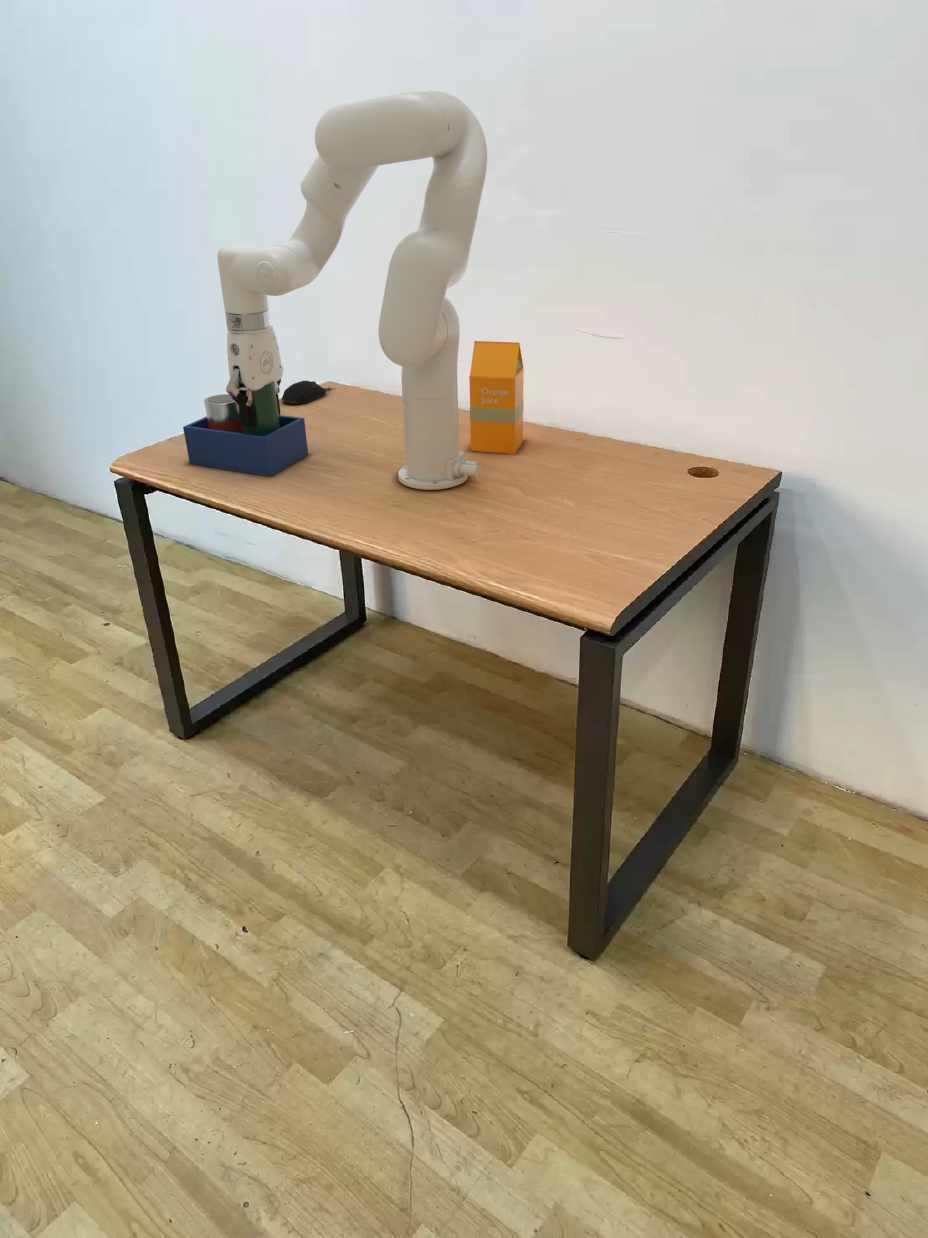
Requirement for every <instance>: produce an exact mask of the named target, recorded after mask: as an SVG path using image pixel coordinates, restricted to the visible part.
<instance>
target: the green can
mask: <svg viewBox="0 0 928 1238" xmlns="http://www.w3.org/2000/svg"><path fill="white" fill-rule="evenodd" d="M241 387H245V385H244V384H243V385H242V386H241ZM242 392H243V395H244V396H245V397H246V394H247V391H242ZM252 405H254V406H255V413H256V420H257V426H256V427H248V426H244V432H245V434H249V435H257V436H266V435H268V434H270V433H272V432H274V431H276V430H278V429H280V422H279V413H278V405H277V397H276V389H275V381H274V382H271V383H269V384H267V385H264V387H262V388H261V389H259V390H256V391H253V398H252Z"/></svg>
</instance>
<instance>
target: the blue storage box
mask: <svg viewBox="0 0 928 1238" xmlns="http://www.w3.org/2000/svg"><path fill="white" fill-rule="evenodd" d="M279 422H280V429H278V430H276V431H274V432H272V433H270V434H268V435H266V436H257V435H249V434H242V433H235V432H228V431H220V430H213V429H209V427H208V421H207V415H206V416H204V417H202V418H200V419H197V420H195V421H193V422H191V423H188V424H186V425H184V426H182V429H183V434H184V440H185V446H186V451H187V456H188V463H189V465H194V466H200V467H206V468H213V469H220V470H227V471H233V472H239V473H245V474H251V475H258V476H263V477H269V478H270V477H272V476H274V475H276V474H278V473H279V472H281V471H283V470H285V469H286V468H288V467H290V466H291V465H293V464H295V463H296V462H298V461H300V460H303V459H304V458H306V457H307V456H309V449H308V448H309V447H308V440H307V431H306V423H305V418H304V417H297V416H291V415H283V414H280V415H279Z"/></svg>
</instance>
